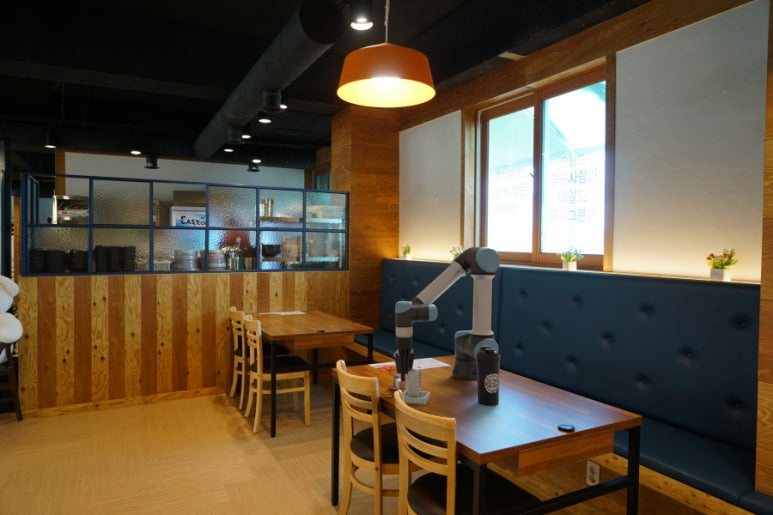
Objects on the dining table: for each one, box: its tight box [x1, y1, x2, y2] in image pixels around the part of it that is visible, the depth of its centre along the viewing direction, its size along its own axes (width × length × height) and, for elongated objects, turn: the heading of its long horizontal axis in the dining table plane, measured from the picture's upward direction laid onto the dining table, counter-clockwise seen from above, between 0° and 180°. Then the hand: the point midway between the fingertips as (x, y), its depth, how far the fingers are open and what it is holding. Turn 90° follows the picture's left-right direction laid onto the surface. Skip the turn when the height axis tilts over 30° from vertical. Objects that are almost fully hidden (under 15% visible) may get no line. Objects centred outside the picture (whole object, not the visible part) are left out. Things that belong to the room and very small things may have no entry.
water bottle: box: [476, 346, 501, 407], centre depth 214 cm, size 10×10×23 cm
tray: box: [402, 389, 431, 406], centre depth 218 cm, size 11×11×2 cm
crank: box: [392, 373, 406, 393], centre depth 233 cm, size 13×3×5 cm, turn 13°
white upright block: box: [407, 368, 422, 398], centre depth 218 cm, size 4×4×12 cm
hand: (404, 388), depth 232 cm, fingers closed
